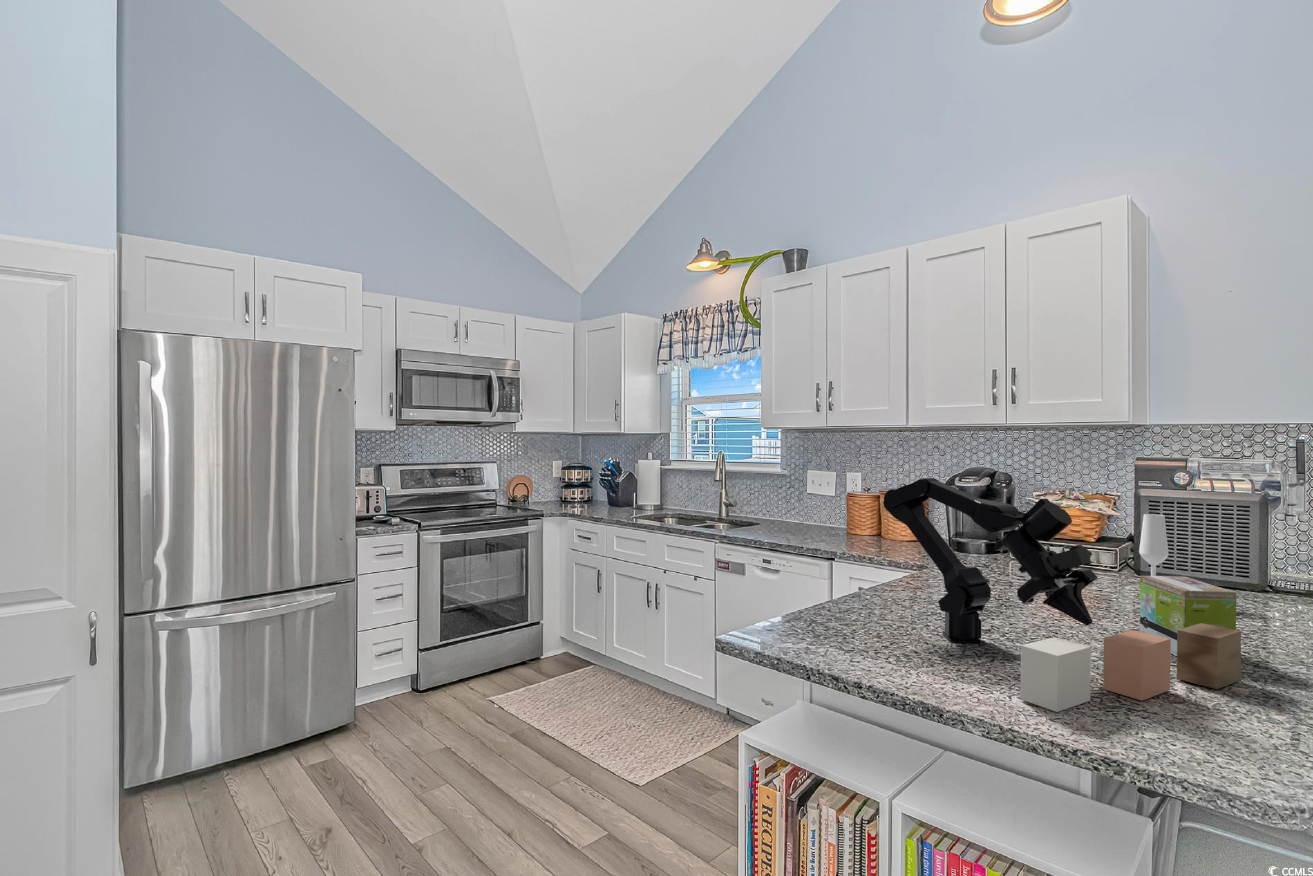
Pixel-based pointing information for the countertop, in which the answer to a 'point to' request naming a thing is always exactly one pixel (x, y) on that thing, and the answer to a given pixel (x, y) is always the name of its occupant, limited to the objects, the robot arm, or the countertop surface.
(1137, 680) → the terracotta block
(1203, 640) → the walnut block
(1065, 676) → the cream block
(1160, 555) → the champagne flute
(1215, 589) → the tea box
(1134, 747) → the countertop surface
